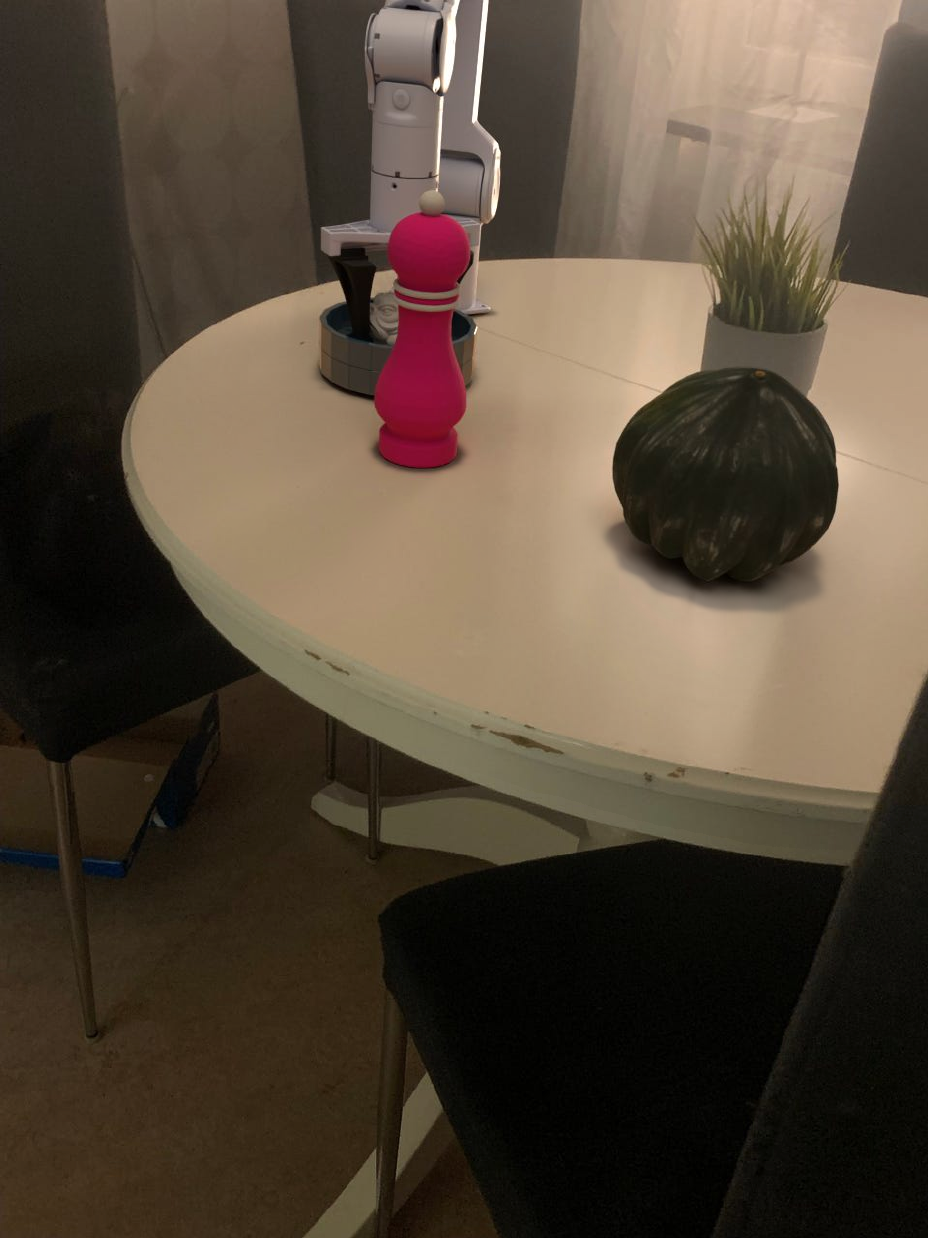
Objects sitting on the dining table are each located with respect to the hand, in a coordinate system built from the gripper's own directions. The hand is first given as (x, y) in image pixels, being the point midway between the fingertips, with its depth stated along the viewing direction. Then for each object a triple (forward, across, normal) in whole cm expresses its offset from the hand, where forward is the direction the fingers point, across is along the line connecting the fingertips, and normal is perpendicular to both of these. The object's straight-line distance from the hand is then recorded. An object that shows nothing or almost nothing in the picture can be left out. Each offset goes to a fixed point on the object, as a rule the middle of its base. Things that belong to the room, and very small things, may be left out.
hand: (398, 329), depth 98 cm
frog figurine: (+4, 0, 0) cm, 4 cm away
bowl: (+4, 0, 0) cm, 4 cm away
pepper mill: (+4, -6, -16) cm, 18 cm away
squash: (+4, +6, -38) cm, 39 cm away
